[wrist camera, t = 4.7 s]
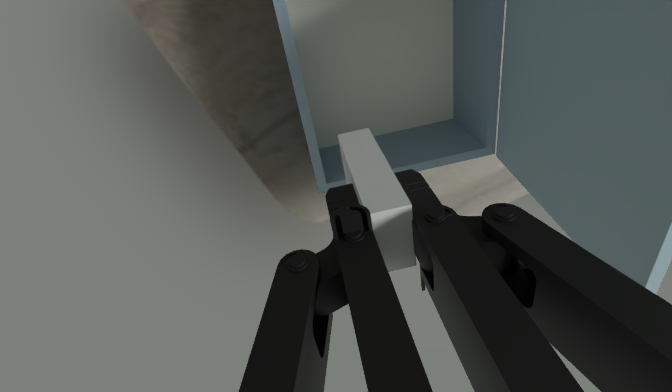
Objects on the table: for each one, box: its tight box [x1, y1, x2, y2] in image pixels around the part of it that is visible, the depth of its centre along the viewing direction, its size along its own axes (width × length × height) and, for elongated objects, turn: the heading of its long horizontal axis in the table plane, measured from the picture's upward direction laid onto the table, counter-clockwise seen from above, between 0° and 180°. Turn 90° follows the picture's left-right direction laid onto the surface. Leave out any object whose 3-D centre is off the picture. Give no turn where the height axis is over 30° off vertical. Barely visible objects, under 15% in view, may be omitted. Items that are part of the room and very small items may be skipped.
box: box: [273, 0, 505, 194], centre depth 31 cm, size 18×16×8 cm
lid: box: [496, 0, 672, 294], centre depth 21 cm, size 18×17×1 cm
